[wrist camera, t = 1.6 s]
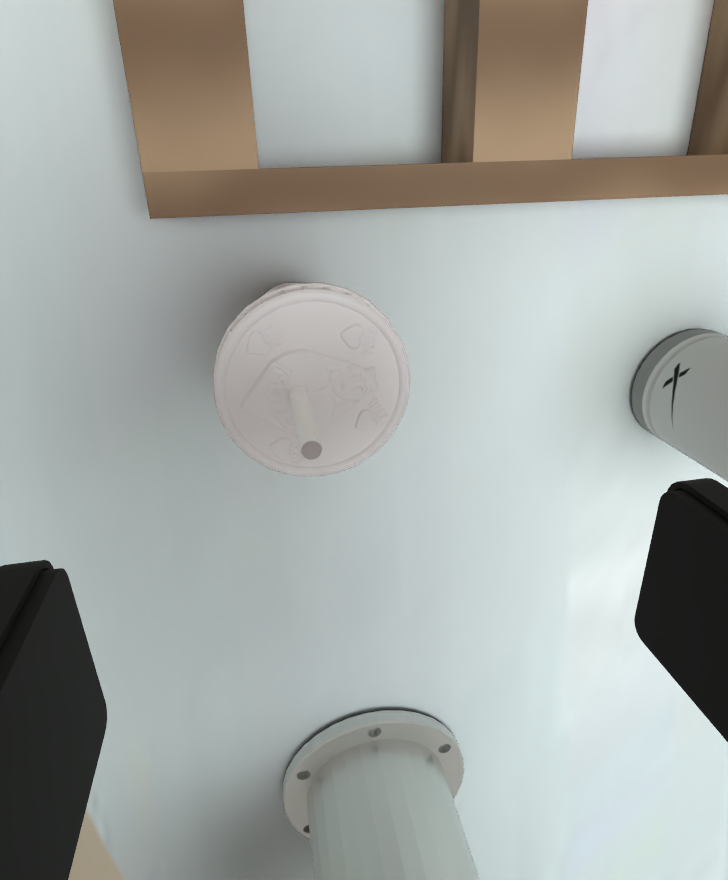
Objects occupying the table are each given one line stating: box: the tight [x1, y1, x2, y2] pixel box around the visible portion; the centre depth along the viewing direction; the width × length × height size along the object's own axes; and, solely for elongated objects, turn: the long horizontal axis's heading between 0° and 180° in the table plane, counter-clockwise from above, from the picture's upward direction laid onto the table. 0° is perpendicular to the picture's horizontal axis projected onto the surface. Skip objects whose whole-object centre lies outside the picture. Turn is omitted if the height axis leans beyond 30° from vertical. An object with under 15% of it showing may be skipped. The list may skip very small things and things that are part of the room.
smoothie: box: [213, 282, 410, 476], centre depth 21 cm, size 6×6×14 cm
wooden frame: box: [113, 0, 728, 219], centre depth 23 cm, size 11×28×4 cm, turn 92°
